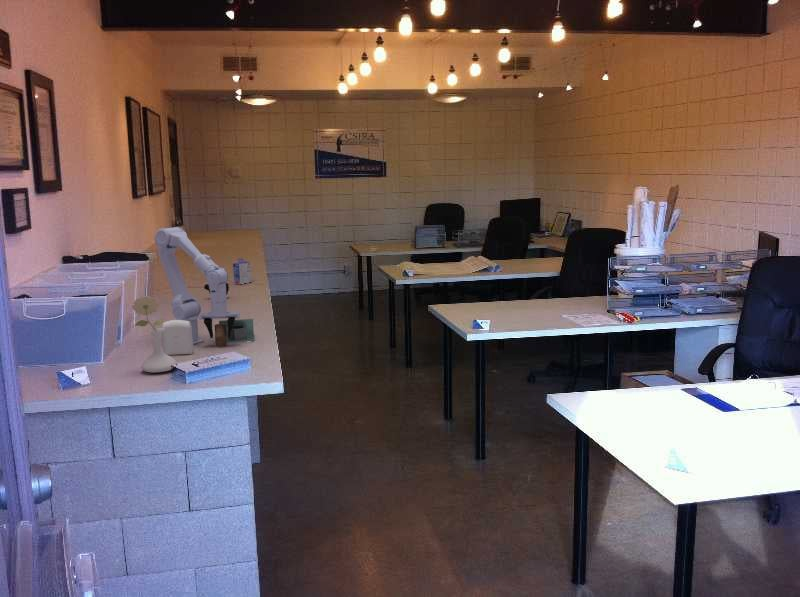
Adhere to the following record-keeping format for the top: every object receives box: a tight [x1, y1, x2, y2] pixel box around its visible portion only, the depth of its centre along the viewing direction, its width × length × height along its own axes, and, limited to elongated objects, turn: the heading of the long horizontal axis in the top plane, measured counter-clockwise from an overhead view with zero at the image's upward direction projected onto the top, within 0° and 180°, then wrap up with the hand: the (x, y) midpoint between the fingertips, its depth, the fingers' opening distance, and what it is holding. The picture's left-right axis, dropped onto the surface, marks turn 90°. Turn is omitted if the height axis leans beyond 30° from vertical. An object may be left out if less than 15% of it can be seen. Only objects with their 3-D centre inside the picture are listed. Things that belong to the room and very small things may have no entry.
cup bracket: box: [218, 318, 256, 344], centre depth 282 cm, size 10×13×7 cm
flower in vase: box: [131, 295, 178, 373], centre depth 237 cm, size 13×11×25 cm
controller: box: [203, 282, 230, 296], centre depth 369 cm, size 4×12×10 cm, turn 100°
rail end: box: [213, 323, 228, 348], centre depth 272 cm, size 4×4×8 cm
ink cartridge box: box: [232, 257, 253, 285], centre depth 419 cm, size 10×6×14 cm, turn 148°
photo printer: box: [161, 319, 194, 356], centre depth 260 cm, size 10×4×12 cm, turn 96°
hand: (220, 337), depth 272 cm, fingers open, 6 cm apart
